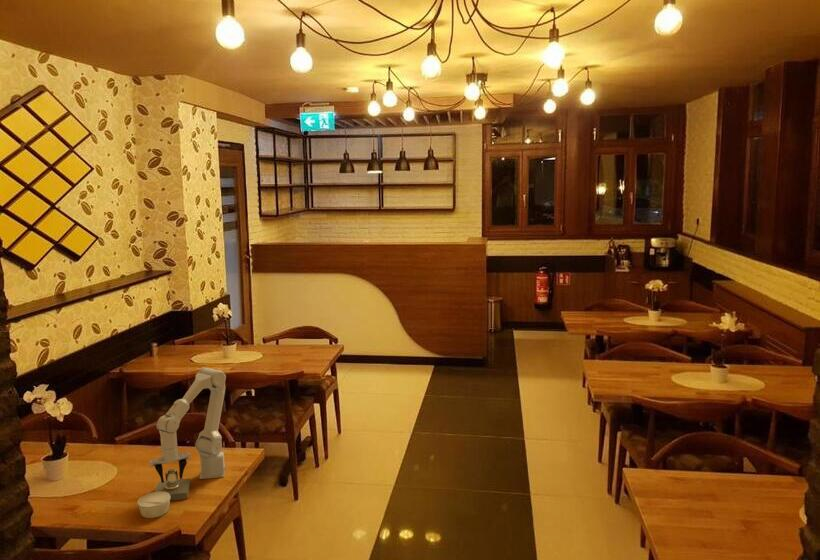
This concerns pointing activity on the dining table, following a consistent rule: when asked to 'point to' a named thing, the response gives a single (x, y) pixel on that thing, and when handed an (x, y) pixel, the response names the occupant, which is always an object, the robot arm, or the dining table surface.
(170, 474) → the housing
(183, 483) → the stand
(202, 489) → the dining table surface
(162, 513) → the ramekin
